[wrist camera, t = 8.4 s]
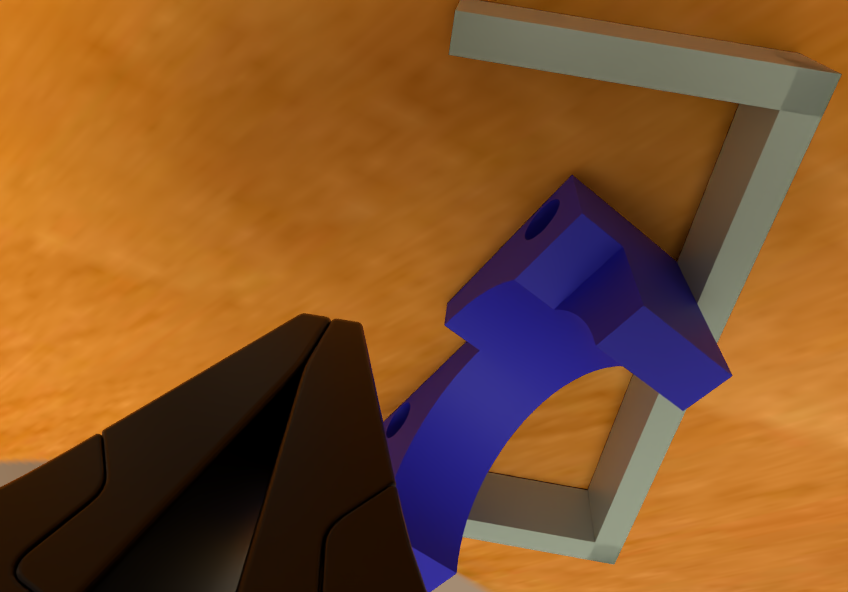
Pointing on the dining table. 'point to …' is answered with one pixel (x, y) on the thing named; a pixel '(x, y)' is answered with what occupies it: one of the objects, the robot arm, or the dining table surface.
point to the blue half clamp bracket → (541, 355)
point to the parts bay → (703, 249)
